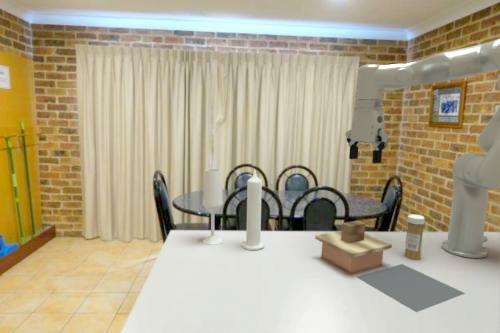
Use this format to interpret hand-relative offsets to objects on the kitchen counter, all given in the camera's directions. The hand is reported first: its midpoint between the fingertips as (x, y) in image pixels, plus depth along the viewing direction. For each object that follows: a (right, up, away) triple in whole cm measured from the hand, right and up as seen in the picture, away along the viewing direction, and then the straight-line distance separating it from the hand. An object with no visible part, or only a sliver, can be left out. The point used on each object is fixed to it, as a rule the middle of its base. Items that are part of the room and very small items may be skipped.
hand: (364, 160), depth 110 cm
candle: (-35, -28, +2) cm, 45 cm away
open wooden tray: (-7, -30, -9) cm, 32 cm away
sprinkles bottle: (+13, -30, -5) cm, 33 cm away
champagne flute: (-49, -27, +6) cm, 56 cm away
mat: (+4, -32, -22) cm, 39 cm away
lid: (-7, -24, -10) cm, 27 cm away
